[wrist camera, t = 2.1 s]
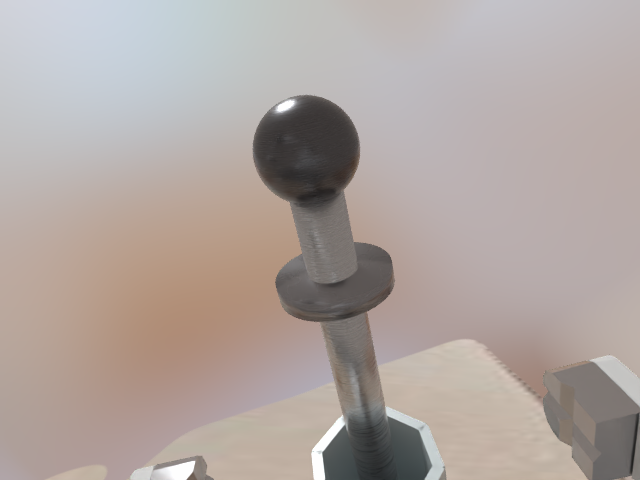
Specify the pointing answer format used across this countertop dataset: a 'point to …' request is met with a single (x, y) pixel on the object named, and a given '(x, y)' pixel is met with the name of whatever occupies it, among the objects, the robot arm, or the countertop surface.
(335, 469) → the grey faceted holder
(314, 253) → the plunger
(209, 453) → the countertop surface
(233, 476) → the countertop surface
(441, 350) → the countertop surface
